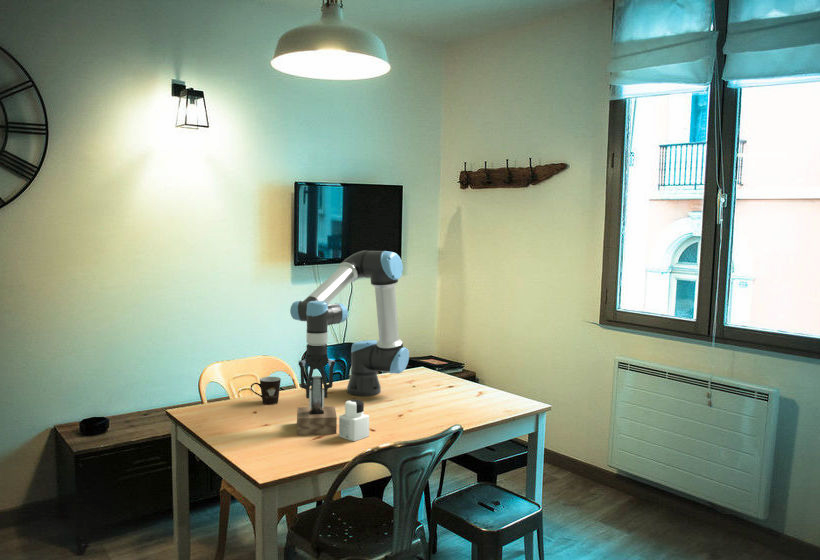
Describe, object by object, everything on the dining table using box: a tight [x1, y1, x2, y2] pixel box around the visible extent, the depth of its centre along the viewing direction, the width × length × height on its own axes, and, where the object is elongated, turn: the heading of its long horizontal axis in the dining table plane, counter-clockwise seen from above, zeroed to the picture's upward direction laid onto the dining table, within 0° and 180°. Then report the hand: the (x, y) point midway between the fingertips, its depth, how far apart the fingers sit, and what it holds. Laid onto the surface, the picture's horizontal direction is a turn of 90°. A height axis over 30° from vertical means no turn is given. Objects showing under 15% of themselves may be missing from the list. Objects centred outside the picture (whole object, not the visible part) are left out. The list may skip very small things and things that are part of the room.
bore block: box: [296, 405, 338, 436], centre depth 234 cm, size 14×14×6 cm
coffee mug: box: [250, 376, 282, 406], centre depth 267 cm, size 12×9×10 cm
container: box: [338, 398, 370, 442], centre depth 226 cm, size 8×8×13 cm
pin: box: [310, 375, 323, 415], centre depth 234 cm, size 4×4×15 cm
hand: (316, 406), depth 234 cm, fingers closed on pin, 4 cm apart
